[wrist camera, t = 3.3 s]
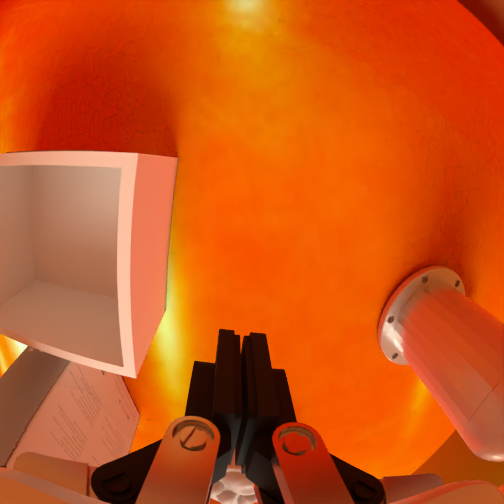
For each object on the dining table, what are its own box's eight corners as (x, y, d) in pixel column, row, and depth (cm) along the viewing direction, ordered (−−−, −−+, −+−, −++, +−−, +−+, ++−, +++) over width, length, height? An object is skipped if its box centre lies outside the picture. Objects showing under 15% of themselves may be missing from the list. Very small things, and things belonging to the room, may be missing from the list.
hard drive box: (50, 318, 26) (-48, 433, 7) (101, 318, 26) (3, 468, 7) (95, 412, 31) (50, 523, 12) (143, 417, 31) (109, 545, 12)
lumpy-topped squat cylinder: (290, 429, 32) (300, 480, 24) (262, 471, 36) (266, 513, 28) (212, 420, 31) (209, 475, 23) (198, 464, 35) (195, 508, 26)
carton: (178, 156, 22) (138, 151, 13) (165, 309, 26) (136, 378, 17) (33, 152, 21) (-37, 156, 11) (36, 282, 25) (-19, 324, 15)
